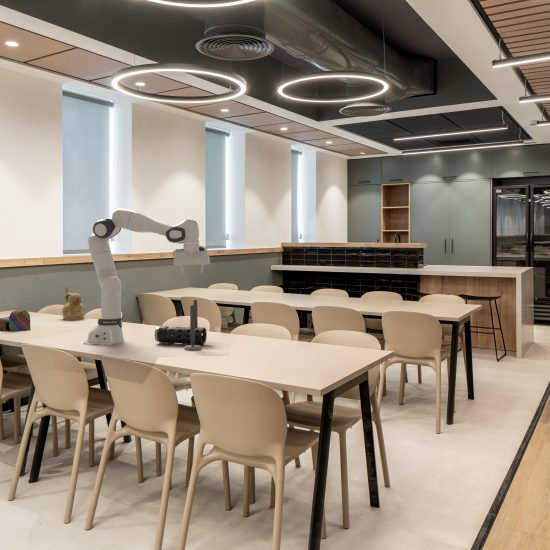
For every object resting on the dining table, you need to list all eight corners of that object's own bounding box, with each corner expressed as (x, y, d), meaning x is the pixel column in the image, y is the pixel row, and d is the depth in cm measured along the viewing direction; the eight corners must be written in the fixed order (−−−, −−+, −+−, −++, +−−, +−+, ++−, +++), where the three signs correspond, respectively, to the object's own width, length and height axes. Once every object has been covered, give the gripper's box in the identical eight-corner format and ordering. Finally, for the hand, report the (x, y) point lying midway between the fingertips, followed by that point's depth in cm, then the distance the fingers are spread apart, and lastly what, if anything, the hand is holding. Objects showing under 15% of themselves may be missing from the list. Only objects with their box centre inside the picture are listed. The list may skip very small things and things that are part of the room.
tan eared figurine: (69, 323, 411) (68, 289, 410) (56, 321, 425) (55, 287, 423) (90, 320, 424) (89, 287, 423) (77, 318, 437) (76, 286, 436)
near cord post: (183, 350, 300) (183, 306, 299) (184, 347, 309) (184, 304, 308) (200, 350, 301) (200, 305, 300) (201, 347, 310) (201, 304, 309)
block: (36, 329, 383) (36, 308, 382) (16, 333, 367) (16, 311, 366) (9, 327, 392) (8, 307, 391) (-12, 331, 377) (-13, 309, 376)
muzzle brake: (201, 347, 313) (201, 328, 312) (154, 345, 318) (153, 327, 318) (207, 344, 322) (206, 326, 321) (160, 342, 328) (160, 324, 327)
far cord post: (187, 341, 330) (186, 300, 329) (188, 338, 339) (188, 299, 338) (203, 341, 331) (202, 300, 330) (203, 338, 340) (203, 298, 339)
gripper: (172, 249, 314) (172, 274, 314) (209, 248, 315) (210, 273, 316) (173, 249, 320) (174, 273, 321) (209, 248, 321) (210, 272, 322)
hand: (192, 273), depth 318 cm, fingers open, 8 cm apart
